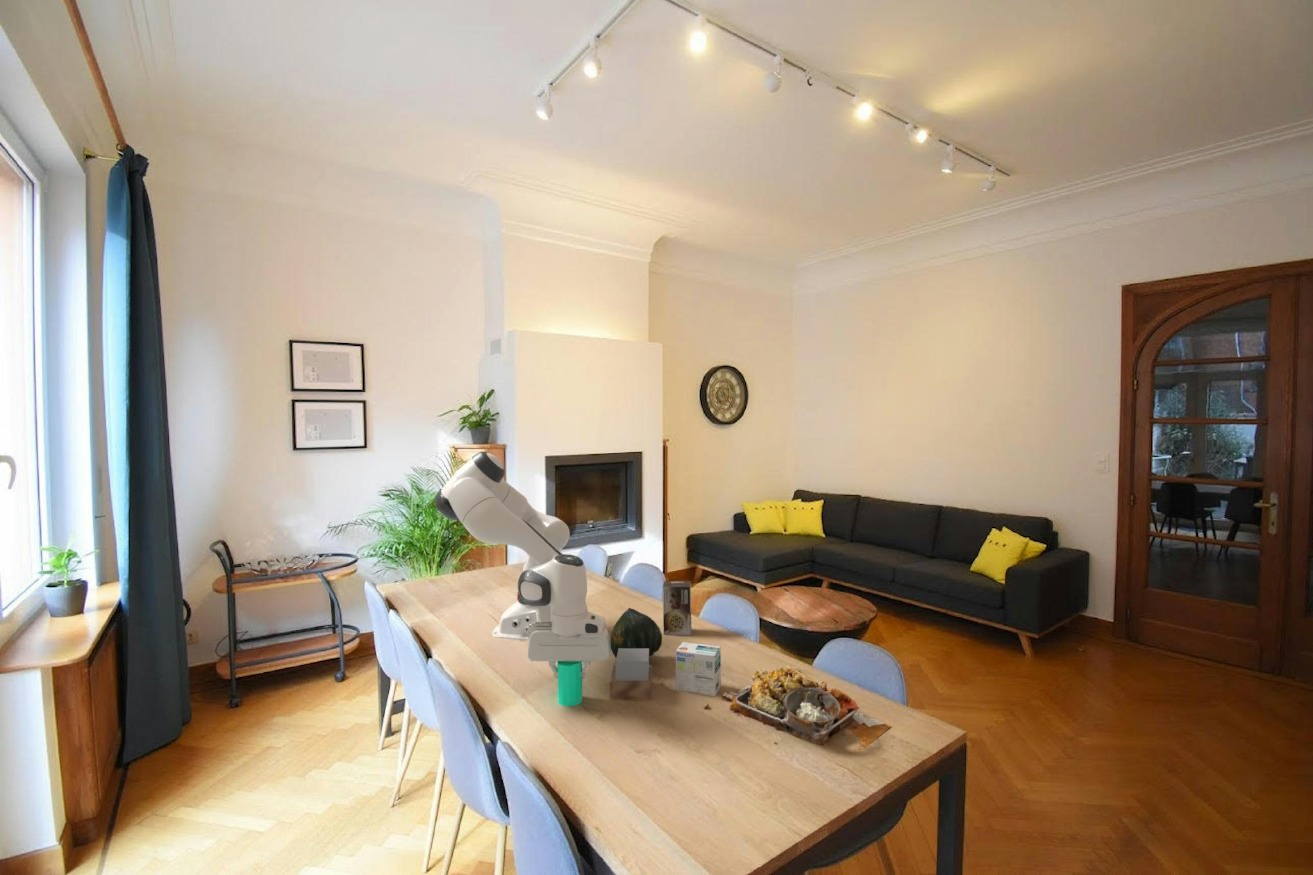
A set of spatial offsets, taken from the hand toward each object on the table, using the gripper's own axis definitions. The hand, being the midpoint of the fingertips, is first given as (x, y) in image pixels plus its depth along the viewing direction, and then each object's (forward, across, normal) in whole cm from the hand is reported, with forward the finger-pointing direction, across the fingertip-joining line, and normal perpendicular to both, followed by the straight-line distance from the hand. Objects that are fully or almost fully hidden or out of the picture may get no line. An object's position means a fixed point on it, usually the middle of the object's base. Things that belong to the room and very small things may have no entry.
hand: (569, 677), depth 144 cm
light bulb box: (+7, +32, +8) cm, 34 cm away
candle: (+6, 0, 0) cm, 6 cm away
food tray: (+7, +54, -7) cm, 54 cm away
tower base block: (+7, +15, +6) cm, 17 cm away
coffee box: (+7, +27, +48) cm, 55 cm away
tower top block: (+2, +15, +6) cm, 16 cm away
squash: (+6, +15, +23) cm, 28 cm away
